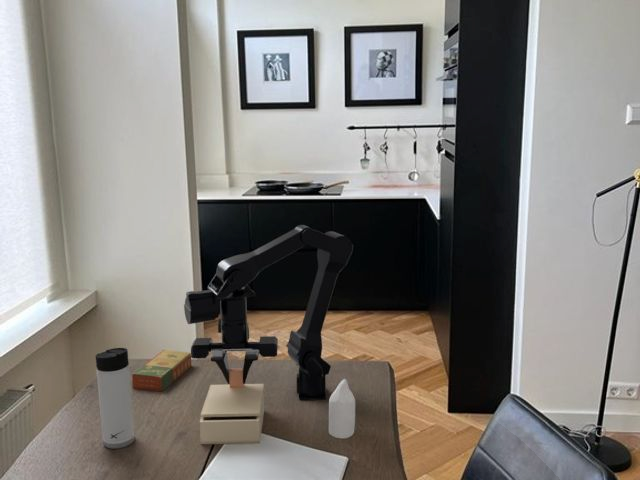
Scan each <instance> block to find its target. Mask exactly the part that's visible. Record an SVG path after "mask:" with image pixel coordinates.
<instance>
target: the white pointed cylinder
mask: <svg viewBox="0 0 640 480" xmlns="http://www.w3.org/2000/svg"><path fill="white" fill-rule="evenodd" d="M355 426H356V398H355V396H354V394H353V392H352V390H351V389H350V388H349V384H348V380H347V379H346V378H343V379H342V380H341V381H340V382H339V384H338V385H337V387H336V389H335V390H334V391H333V392H332V393H331V395H330V397H329V400H328V433H329V435H331V436H332V437H334V438H336V439H343V440H344V439H348V438H350V437H352V436H353V434H355Z"/></svg>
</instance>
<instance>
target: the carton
mask: <svg viewBox="0 0 640 480" xmlns="http://www.w3.org/2000/svg"><path fill="white" fill-rule="evenodd" d="M191 367H192V358H191V352H188V351H179V350H169V349H168V350H166V349H163V350H162V351H160V352H159V353H157V354H156V355H155V356H154V357H152V358H151V359H150V360H149V361H147V362H146V363H144V364H143V365H142V366H141V367H139V368H138V369H136V370H135V371H134V372H133V373H132V376H131V378H132V379H131V384H132V385H131V387H132V389H138V390H139V389H141V390H147V391H157V392H163V391H165V390H166V389H167V387H169V386H170V385H171V384H172V383H173V382H175V381H176V380H177V379H179V377H180V376H182V375H183V374H184V373H185V372H186V371H187V370H188V369H190V368H191Z"/></svg>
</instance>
